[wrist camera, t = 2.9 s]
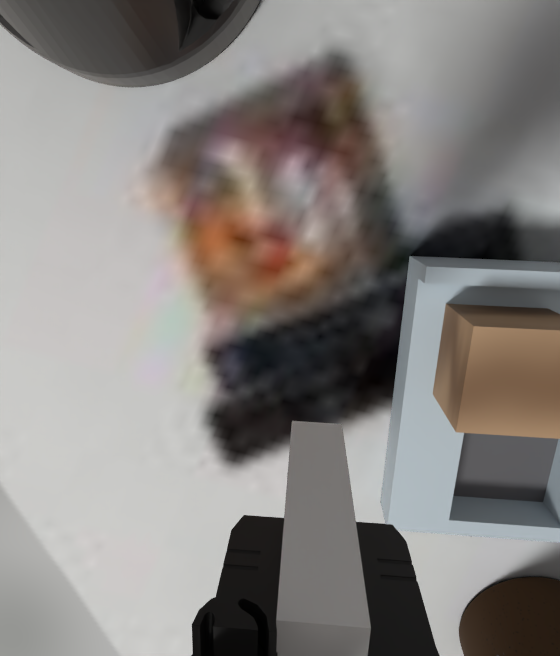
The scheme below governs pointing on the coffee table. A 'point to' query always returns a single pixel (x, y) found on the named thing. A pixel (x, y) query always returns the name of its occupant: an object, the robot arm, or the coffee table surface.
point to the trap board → (438, 434)
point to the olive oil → (513, 619)
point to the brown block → (500, 370)
